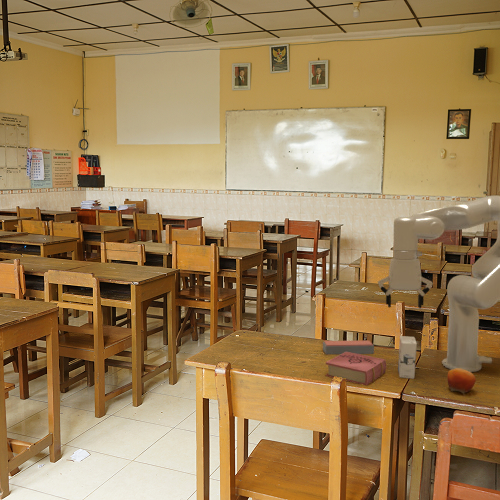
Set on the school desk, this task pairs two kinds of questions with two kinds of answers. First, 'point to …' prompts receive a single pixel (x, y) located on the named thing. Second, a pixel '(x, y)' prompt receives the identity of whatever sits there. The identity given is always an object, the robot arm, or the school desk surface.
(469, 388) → the fruit
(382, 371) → the book
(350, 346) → the pencil case
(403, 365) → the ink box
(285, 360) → the school desk surface
